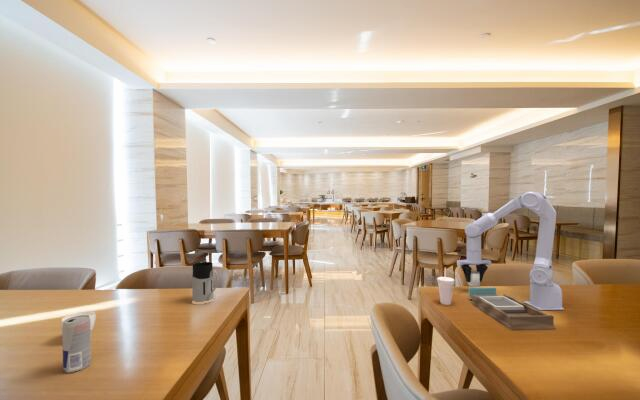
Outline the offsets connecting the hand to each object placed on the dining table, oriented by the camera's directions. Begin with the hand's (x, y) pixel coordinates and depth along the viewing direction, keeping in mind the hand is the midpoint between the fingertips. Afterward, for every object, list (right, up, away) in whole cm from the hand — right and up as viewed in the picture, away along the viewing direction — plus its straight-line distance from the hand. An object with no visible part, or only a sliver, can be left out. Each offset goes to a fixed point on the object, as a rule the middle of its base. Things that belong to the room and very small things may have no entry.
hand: (473, 281), depth 127 cm
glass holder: (-114, -5, -12) cm, 114 cm away
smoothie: (-19, -5, -14) cm, 24 cm away
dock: (-1, -5, -26) cm, 26 cm away
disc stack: (0, -2, 0) cm, 2 cm away
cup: (-141, -6, -40) cm, 146 cm away
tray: (-1, -4, -18) cm, 18 cm away
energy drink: (-129, -6, -55) cm, 140 cm away
